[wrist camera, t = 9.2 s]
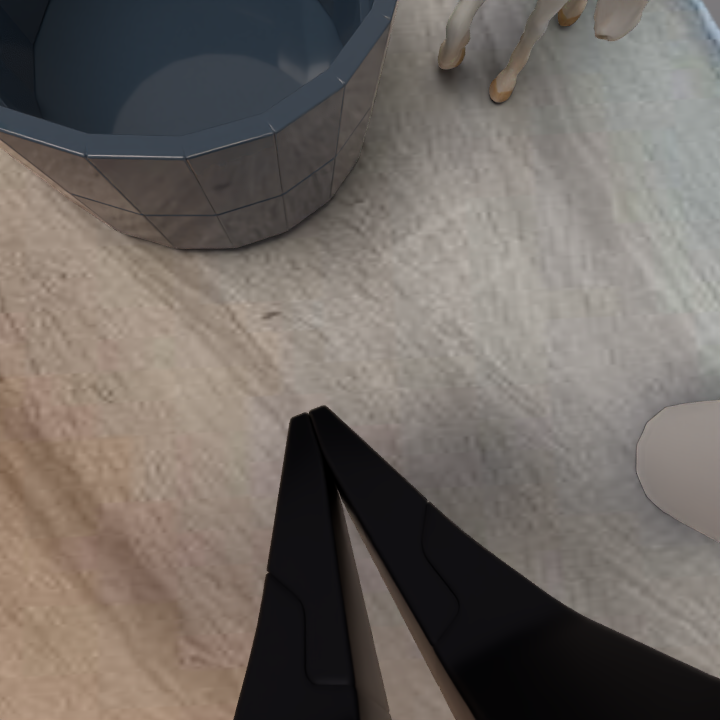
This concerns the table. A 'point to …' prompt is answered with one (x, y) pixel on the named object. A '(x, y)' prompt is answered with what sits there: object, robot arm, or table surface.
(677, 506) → the foam cup
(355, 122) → the bowl
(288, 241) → the table surface
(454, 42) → the unicorn figurine
